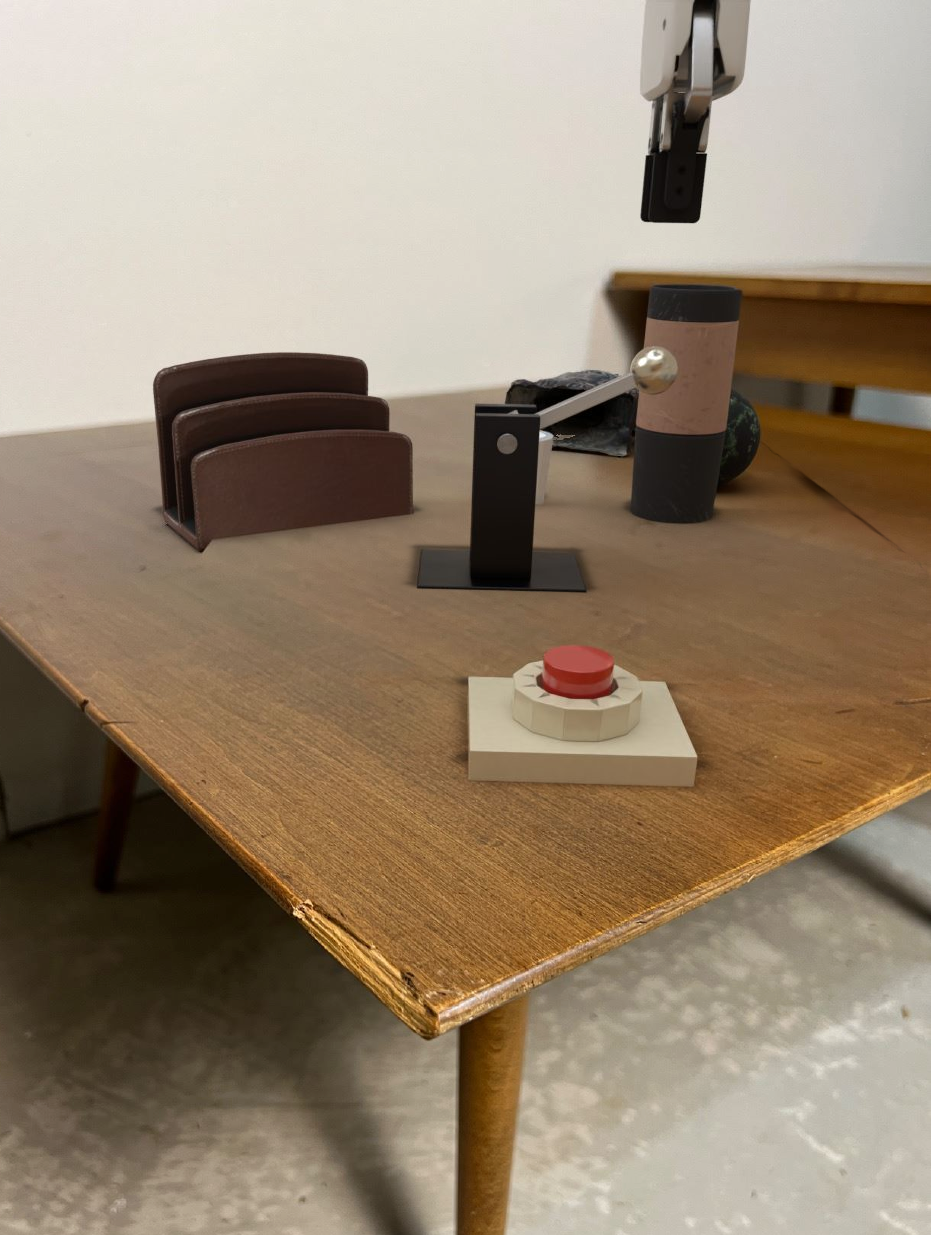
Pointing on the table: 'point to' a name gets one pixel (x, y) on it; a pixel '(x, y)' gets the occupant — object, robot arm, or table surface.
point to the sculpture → (591, 427)
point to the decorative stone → (739, 438)
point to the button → (577, 672)
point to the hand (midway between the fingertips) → (669, 219)
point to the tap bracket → (502, 515)
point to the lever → (620, 385)
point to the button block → (576, 733)
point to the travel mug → (685, 403)
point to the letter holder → (275, 446)
